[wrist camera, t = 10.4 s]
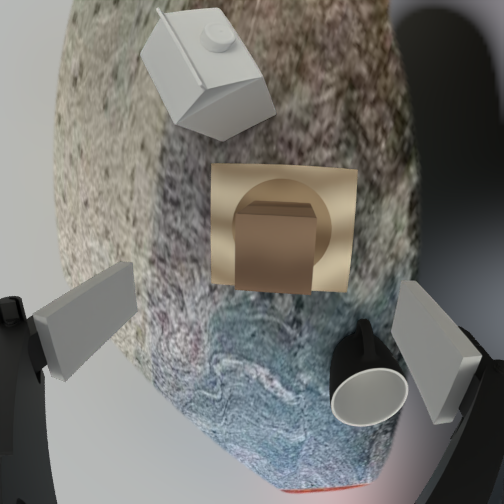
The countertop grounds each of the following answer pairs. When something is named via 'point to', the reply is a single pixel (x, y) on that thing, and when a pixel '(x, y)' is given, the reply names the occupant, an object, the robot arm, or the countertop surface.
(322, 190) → the board
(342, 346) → the mug
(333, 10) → the countertop surface
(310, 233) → the block
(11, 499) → the robot arm
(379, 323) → the countertop surface
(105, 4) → the countertop surface
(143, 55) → the milk carton
